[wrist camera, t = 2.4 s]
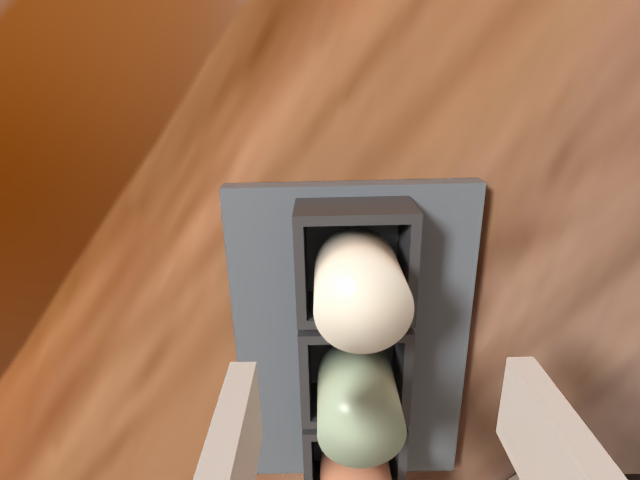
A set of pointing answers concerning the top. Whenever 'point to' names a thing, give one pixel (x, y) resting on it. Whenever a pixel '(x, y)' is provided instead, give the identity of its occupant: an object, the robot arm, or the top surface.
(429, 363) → the panel
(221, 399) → the robot arm
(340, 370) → the pale green rounded piece
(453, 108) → the top surface
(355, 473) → the pink rounded piece
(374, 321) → the cream button
